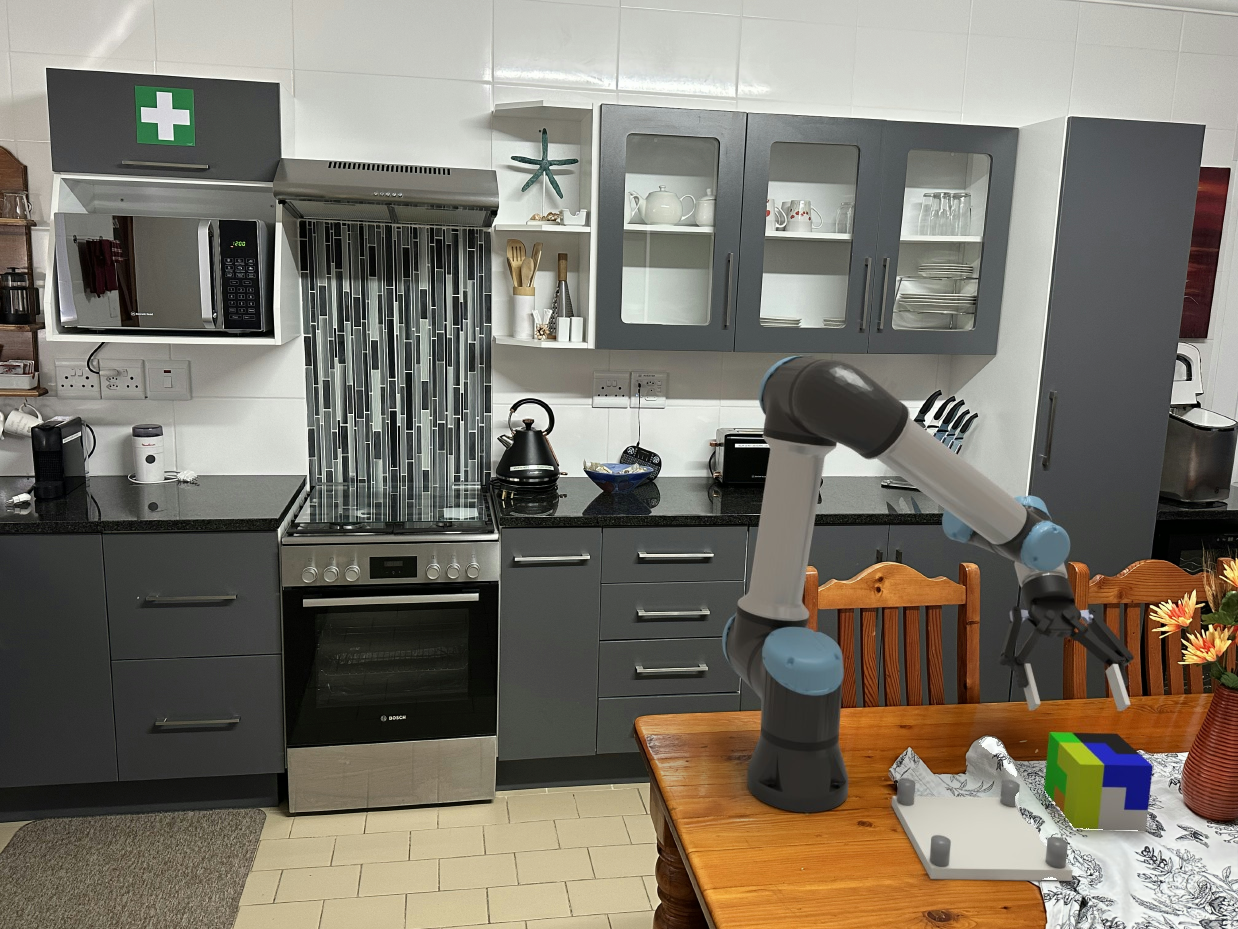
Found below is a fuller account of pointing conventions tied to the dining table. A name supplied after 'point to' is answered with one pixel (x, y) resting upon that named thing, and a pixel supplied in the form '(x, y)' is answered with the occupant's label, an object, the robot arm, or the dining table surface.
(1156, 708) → the dining table surface
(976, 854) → the stub base
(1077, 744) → the puzzle toy
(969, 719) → the dining table surface
